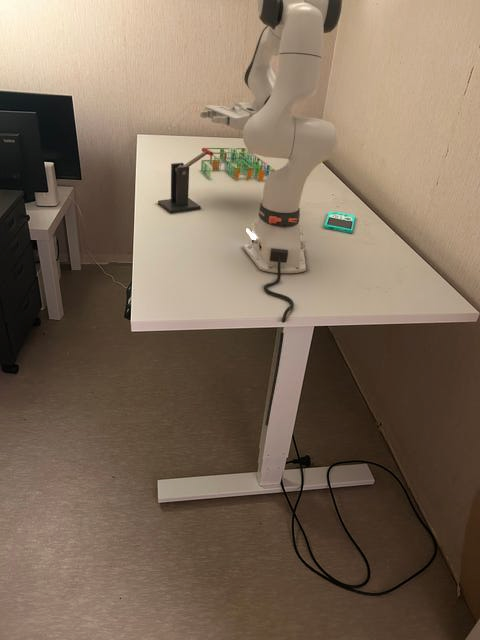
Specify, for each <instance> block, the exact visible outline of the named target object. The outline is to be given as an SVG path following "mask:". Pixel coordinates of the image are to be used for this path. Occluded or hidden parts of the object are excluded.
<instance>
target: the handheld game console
mask: <svg viewBox="0 0 480 640" xmlns="http://www.w3.org/2000/svg"><path fill="white" fill-rule="evenodd" d="M355 221H356V215H355V214H350V213H346V212H345V213H344V212H340V211H329V212H328V214H327V217H326V220H325V222H324V226H323V228H324V229H325V230H331V231H337V232H341V233H346V234H353V229H354V226H355V225H354V224H355Z"/></svg>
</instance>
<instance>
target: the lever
mask: <svg viewBox="0 0 480 640" xmlns="http://www.w3.org/2000/svg"><path fill="white" fill-rule="evenodd" d="M206 148H207V147H202V148H201V153H200V154H198V155H197V156H196V157H194V158H192V159H191V160H189V161H188V162H187V163H184V166H189V167H191V166H192V165H194V164H195V163H197V162H198V161H200V160H202V159H203V158H204V157H205V156H206V155H208V156H209V157H210V156H212V157H213V155H214V154H213V153H214V152H213V151H211V149H206ZM177 167H182V165H181V164H180V165H179V166H177ZM177 167H176V168H175V169H174V170H175V172H176V174H177Z"/></svg>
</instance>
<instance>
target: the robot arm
mask: <svg viewBox="0 0 480 640" xmlns="http://www.w3.org/2000/svg"><path fill="white" fill-rule="evenodd" d="M256 6H257V12H258V18H259V20H260V21H261V22H262V24H264V25H265V26H264V28H262V31H261V33H260V35H259V38H258V41H257V44H256V46H255V49H254V51H253V52H254V53H253V55H252V59H251V61H250V63H249V65H248V67H247V68H246V70H245V73H244V78H243V79H244V84H245V85H246V86H247V88H248V90H249V91H250V92H251V94H252V95H253V97H254V101H253V102H250V101H246V102H245V101H244V102H243V101H241V102H239V101H238V102H235V103H233V104H232V106H231V107H227V106H224V105H211V104H209V105H208V104H207V105H205V106H204V110H203V111H202V110H201V111H200V114H199V116H200V118H202V119H207V118H208V119H211V122H212V123H214V124H221V125H224V126H227V127H229V128H232V129H233V130H236V131H243V132H242V138H243V143H244V146H245V149H247V150H248V151H249V152H250V154H251V153H253V154H254V155H256V156H260V157H263V158H271V159H272V158H273V159H284V160H288V161H287V162H286V163H285V164H284V165H283V166H282V167H280V168H278V169H275V171H273V172H272V173H270V172H269V175H268V174H267V175H268V176H267V175H266V178H264V184H263V191H262V199H261V203H260V204H259V208H258V218H257V219H256V220H255V221H254V222H252V226H251V230H250V229H249V228H246V233H247V235H249V243H246V244H244V246H243V250H244V252H245V253H246V254H247V255H248V256H249V258H250V259H251V260H252V261H253V263H254V264H255V265H256V267H257V269H259V270H260V271H263V272H267V273H271V274H273V273H274V274H277V278H276V280H275V281H273V282H271V283H266V284H264V286H263V289H264V291H265V292H266V293H267V294H268V295H269V294H270V295H272V296H276V297H278V298H282V299H284V300H286V301H288V302H289V304H290V305H289V306H288V307H287V308H286V309H285V310H284V312H283V315H282V317H281V323H286V318H287V315H288V313H289V312H290V310H292V309H293V308H294V306H295V304H294V301H293V299H291V298H290V297H289V296H287V295H285V294H282V293H278V292H275V291H272V290H270V289H269V288H270V287H272V286H276V285H277V284H278V283H279V282H280V281H281V274H298V273H299V274H300V273H304V272H306V270H307V264H306V258H305V251H304V250H305V249H306V247H307V243H306V242H307V241H305V240H301V238H303V236H304V232H301V224H300V218H301V209H300V202H301V199H302V195H303V191H304V188H305V184H306V182H307V179H308V178H309V176H310V175H311V173H312V172H313V171H314V170H315V169H316V168H317V167H318V166H319V165H320V164H321V163H323V162H325V161H327V160H328V159H329V158H331V157H332V155H333V154H334V153H335V151H336V149H337V147H338V142H339V141H338V140H339V134H338V131H337V128H336V127H335V125H334V123H333V122H330V121H328V120H324V119H321V118H318V117H310V116H309V117H307V116H297V115H292V112H293V109H294V107H295V106H296V105H297V104H301V103H302V102H306V101H307V100H309V99H311V98H312V97H313V96H314V95H315V94H316V93H317V90H318V88H319V83H320V74H321V66H322V61H323V60H322V58H323V51H324V39H325V38H324V34H328V33H331V32H332V31H333V30H334V29H336V27H337V26H338V23H339V20H340V19H341V16H342V10H343V0H257V3H256ZM273 56H274V57H277V66H276V67H277V68H276V73H275V72H274V71H273V68H272V66H271V61H272V59H273ZM248 151H247V152H248ZM284 335H285V332H280V335H279V345H278V351H277V357H276V362H275V370H274V376H273V379H272V380H273V381H272V387H271V391H270V392H271V393H270V397H269V402H268V407H267V414H266V419H265V424H264V425H265V426H266V427H267V426H269V423H270V416H271V411H272V405H273V401H274V396H275V392H276V391H275V390H276V385H277V380H278V375H279V368H280V363H281V356H282V349H283V343H284Z"/></svg>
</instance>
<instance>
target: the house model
mask: <svg viewBox="0 0 480 640" xmlns="http://www.w3.org/2000/svg"><path fill="white" fill-rule="evenodd" d="M205 148H206V149H208V150H220V151H219V152H213V155H212V156H210V155H209V159H202V160H201V165H200V172H202V174H203V175H204V176H205V177H206V178H210V176H211V172H219V171H222V169H221V168H222V164H221V162H223V164H224V165H223V167H224V171H225V172H226V173H228V174H229V176H231V177H232V178H233V179H235V181H237V180H238V179H244V176H240V174H241V172H242V173H243V174H244V175H245V177H246V181H248V179H252V177H253V178H254V179H257V180H258V181H264V179H265V178H264V177H265V175H266V177H267V176H268V175H269V174H270V173H272V172H273V171H276V169H275V168H273V167H272V166H271V165H270V164H268V162H265V161H264V160H263V159H262V158H260V157H259V156H258V155H256V154H253V153H250V152H249V151H248V149H247V148H246V147H235V148H233V147H205ZM225 150H230V151H225ZM237 150H240V151H237ZM216 155H219V158H218V157H217V156H216ZM206 162H207V163H210V165H212V167H210V166H209V165H208V164H207V163H206ZM240 166H241V167H240ZM211 168H212V169H211Z"/></svg>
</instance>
